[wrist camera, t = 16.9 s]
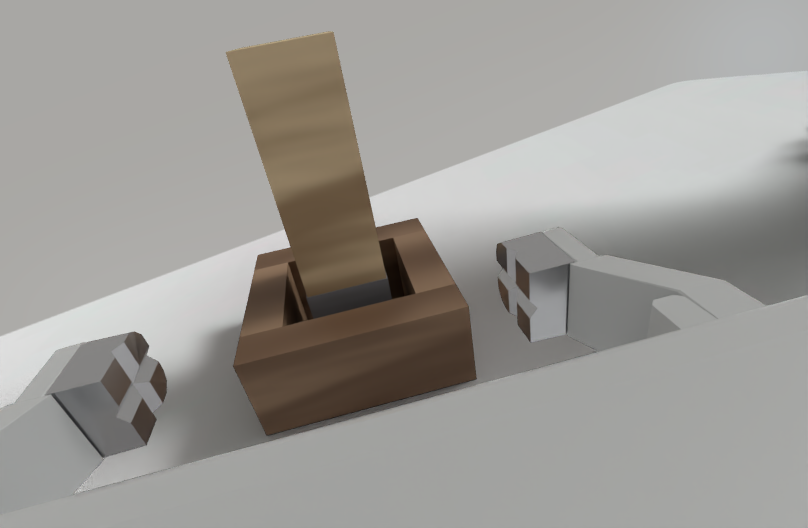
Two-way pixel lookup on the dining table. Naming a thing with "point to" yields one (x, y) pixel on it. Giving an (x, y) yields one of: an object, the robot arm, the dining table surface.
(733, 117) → the dining table surface
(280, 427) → the wooden square ring
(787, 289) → the dining table surface
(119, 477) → the dining table surface
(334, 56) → the light wooden block
